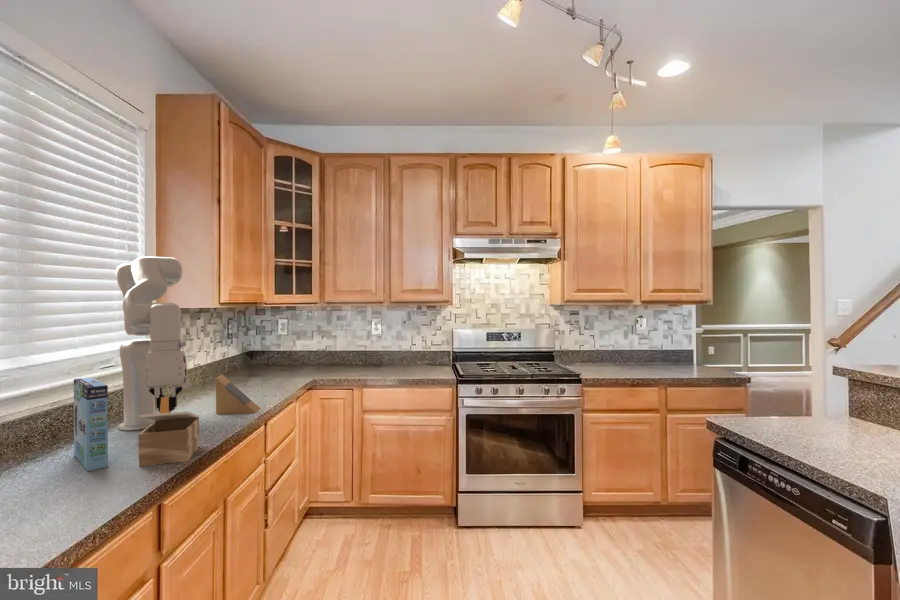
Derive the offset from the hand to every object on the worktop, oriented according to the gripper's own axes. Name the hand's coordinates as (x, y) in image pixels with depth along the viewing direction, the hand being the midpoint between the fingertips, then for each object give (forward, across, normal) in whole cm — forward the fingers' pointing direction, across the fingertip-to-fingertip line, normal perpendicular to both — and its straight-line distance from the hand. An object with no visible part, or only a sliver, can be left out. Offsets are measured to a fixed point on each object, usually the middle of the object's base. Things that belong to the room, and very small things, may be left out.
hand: (166, 409), depth 135 cm
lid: (+3, 0, -4) cm, 5 cm away
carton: (+14, 0, -3) cm, 15 cm away
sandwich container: (+15, -10, -56) cm, 59 cm away
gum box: (+15, +21, -5) cm, 26 cm away
